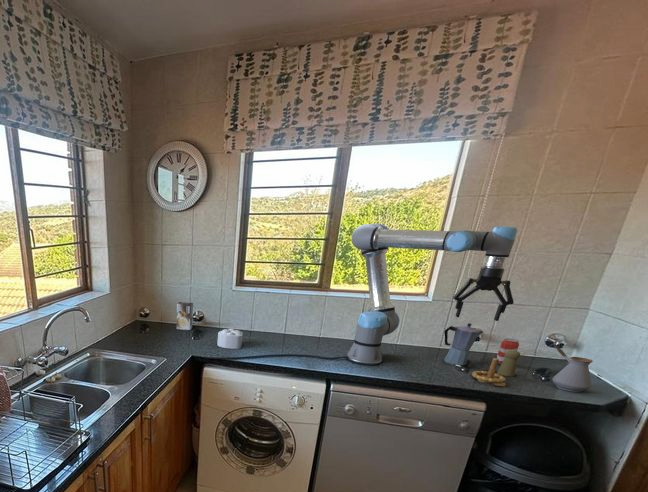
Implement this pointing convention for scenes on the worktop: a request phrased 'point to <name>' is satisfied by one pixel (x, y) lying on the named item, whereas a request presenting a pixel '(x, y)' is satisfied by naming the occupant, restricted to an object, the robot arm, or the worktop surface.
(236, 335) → the lumpy-topped squat cylinder
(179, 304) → the coffee box
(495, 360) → the wooden peg stand
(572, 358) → the coffee pot
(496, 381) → the ring
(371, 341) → the robot arm
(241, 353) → the worktop surface
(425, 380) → the worktop surface
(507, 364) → the cork
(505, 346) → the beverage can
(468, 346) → the moka pot
